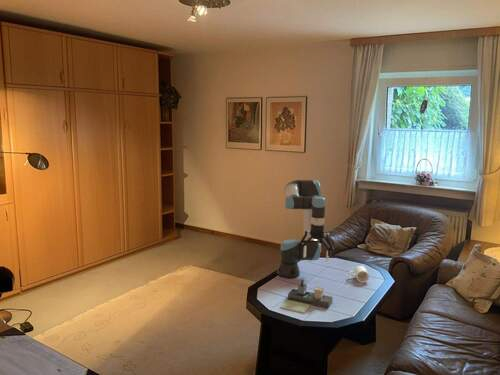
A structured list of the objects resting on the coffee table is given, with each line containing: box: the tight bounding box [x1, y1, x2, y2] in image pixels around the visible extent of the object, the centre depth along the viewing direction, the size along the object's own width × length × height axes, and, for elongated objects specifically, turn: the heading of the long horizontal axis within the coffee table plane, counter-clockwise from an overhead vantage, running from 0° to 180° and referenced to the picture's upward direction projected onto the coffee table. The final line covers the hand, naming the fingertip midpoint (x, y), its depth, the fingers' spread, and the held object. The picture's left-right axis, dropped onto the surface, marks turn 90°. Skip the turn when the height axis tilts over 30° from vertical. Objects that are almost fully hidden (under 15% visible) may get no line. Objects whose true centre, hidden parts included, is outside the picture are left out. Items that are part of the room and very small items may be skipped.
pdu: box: [287, 279, 334, 309], centre depth 233 cm, size 24×8×12 cm, turn 64°
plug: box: [313, 286, 324, 300], centre depth 231 cm, size 4×4×8 cm
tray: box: [279, 299, 311, 314], centre depth 226 cm, size 14×10×1 cm
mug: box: [348, 265, 370, 283], centre depth 267 cm, size 12×10×8 cm
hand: (315, 259), depth 236 cm, fingers open, 13 cm apart
